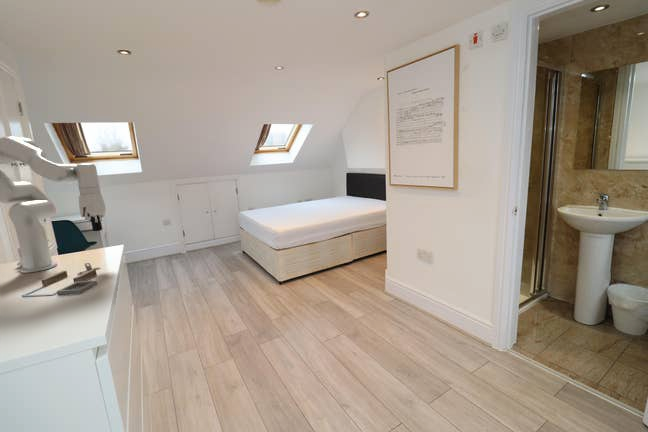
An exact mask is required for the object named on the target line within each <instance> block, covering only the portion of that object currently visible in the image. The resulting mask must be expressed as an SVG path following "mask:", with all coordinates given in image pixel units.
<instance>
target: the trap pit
mask: <svg viewBox="0 0 648 432" xmlns="http://www.w3.org/2000/svg"><path fill="white" fill-rule="evenodd" d="M97 285H98V280H85V281H77V282H75V283H74V282H73V283H71V284H68V285H67V286H64V287H63V288H61V289H58V290H56V292H57V294H56V296H57V295H58V296H67V295H68V296H69V295H70V294H71V295H80V294H82V293H84V292H86V291H88V290H90V289H92V288H93V287H95V286H97Z"/></svg>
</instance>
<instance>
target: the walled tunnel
mask: <svg viewBox="0 0 648 432" xmlns="http://www.w3.org/2000/svg"><path fill="white" fill-rule="evenodd" d="M96 269H97V268H96ZM96 269H94V268H92V270H90V271H88V272H86V273H84V274H81V275H77V276H75V277H73V278H72V280H73V283H75V282H77V281H88V280H89V279H91V278H93V277H95V276H97V270H96ZM66 277H68V272H67V270H61V271H60V272H57V273H55V274H52V275H49V276H47V277H45V278H41V283H42V286H45V287H46V286H49V285H51V284H53V283H56V282H58V281H60V280H63V279H64V278H66Z"/></svg>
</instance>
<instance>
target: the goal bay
mask: <svg viewBox="0 0 648 432" xmlns="http://www.w3.org/2000/svg"><path fill="white" fill-rule="evenodd" d="M44 288H46V286H43V285H42V286H40V287H38V288H36V289H33V290H31V291H29V292H26V293H24V294H21V296H22V298H28V297H31V298H32V297H51V296H55V295H57V291H55V292H53V293H45V294H44V293H43V294H42V293H41V294H33V293H35V292H37V291H39V290H41V289H44Z"/></svg>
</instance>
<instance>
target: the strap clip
mask: <svg viewBox="0 0 648 432" xmlns="http://www.w3.org/2000/svg"><path fill="white" fill-rule="evenodd" d="M84 267H85V270H83V271H79V272H77V276H79V275H81V274H84V273H86V272H88V271H90V270H92V269H96V271H97V270H98V271H99V270H100V269H101V267H92V265H91V263H90V262H86V263H84Z"/></svg>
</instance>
